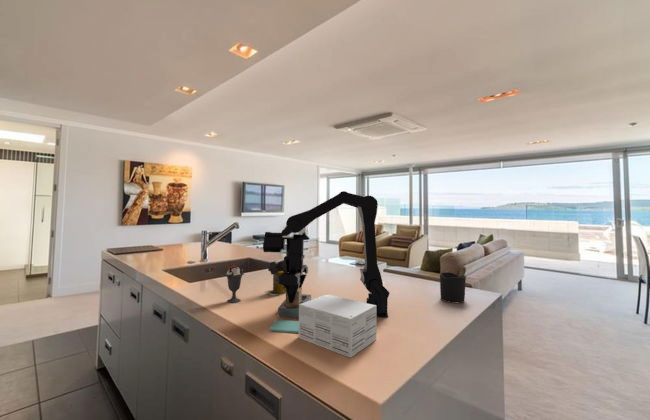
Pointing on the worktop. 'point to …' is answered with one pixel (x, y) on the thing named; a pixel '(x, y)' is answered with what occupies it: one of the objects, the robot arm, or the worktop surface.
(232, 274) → the sundae
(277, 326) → the mat
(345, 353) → the supplement box
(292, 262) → the robot arm
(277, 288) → the condiment
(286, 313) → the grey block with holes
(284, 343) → the worktop surface
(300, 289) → the peg
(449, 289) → the pen holder
